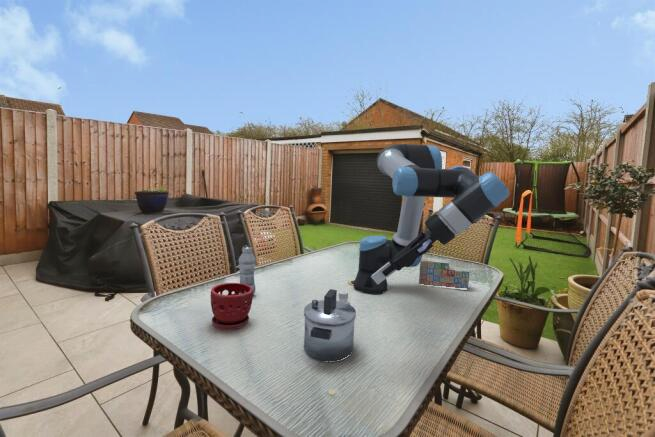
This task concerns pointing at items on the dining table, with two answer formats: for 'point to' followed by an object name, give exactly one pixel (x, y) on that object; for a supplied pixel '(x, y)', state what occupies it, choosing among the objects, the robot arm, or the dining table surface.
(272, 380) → the dining table surface
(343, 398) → the dining table surface
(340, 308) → the lid
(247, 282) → the plastic bottle
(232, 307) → the plant pot
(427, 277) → the stack of blocks
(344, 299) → the salt shaker
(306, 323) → the pot
